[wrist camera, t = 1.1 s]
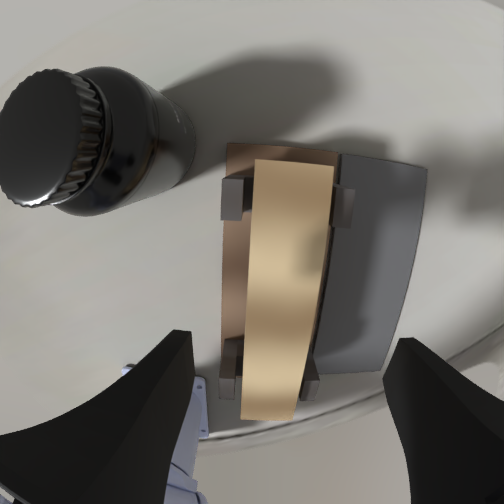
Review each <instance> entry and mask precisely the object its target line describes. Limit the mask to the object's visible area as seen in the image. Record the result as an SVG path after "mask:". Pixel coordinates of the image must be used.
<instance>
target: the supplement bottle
mask: <svg viewBox="0 0 504 504" xmlns="http://www.w3.org/2000/svg"><path fill="white" fill-rule="evenodd" d="M195 145H196V141H195V132H194V128H193V125H192V123H191V121H190V119H189V118H188V116H187V115H186V113H185V112H184V111H183V110H182V109H181V108H180V107H179V106H177V105H176V104H175V103H174V102H172V101H171V100H169V99H168V98H166V97H165V96H164V95H162V94H161V93H159V92H158V91H156V90H155V89H153V88H152V87H150V86H149V85H147V84H146V83H144V82H143V81H141V80H140V79H138V78H137V77H135V76H134V75H132V74H130V73H128V72H126V71H124V70H121V69H118V68H114V67H104V66H101V67H93V68H89V69H85V70H82V71H80V72H78V73H75V74H72V73H69V72H65V71H63V70H60V69H52V70H51V69H45V70H43V71H42V72H36V73H34V74H33V75H32V76H28V77H27V78H26V79H25V80H24V81H23V82H21V83H19V85H18V86H17V88H16V89H15V90H14V91H12V93H11V95H10V97H9V98H8V99H7V101H6V102H5V104H4V107H3V109H2V111H1V112H0V185H1V189H2V191H3V192H4V193H6V196H7V198H8V199H10V200H12V201H13V202H14V204H20V205H21V206H22V207H30V208H36V207H40V206H45V205H54V206H55V207H56V208H58V209H60V210H61V211H63V212H66V213H68V214H71V215H75V216H85V217H87V216H95V215H100V214H104V213H107V212H110V211H113V210H115V209H118V208H121V207H123V206H126V205H129V204H132V203H135V202H137V201H140V200H143V199H146V198H149V197H152V196H155V195H157V194H160V193H162V192H165V191H167V190H168V189H170V188H172V187H173V186H174V185H176V184H177V183H178V182H179V181H180V180H181V179H182V178H183V177H184V175H185V174H186V172H187V171H188V169H189V167H190V165H191V163H192V160H193V157H194V153H195Z"/></svg>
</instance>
